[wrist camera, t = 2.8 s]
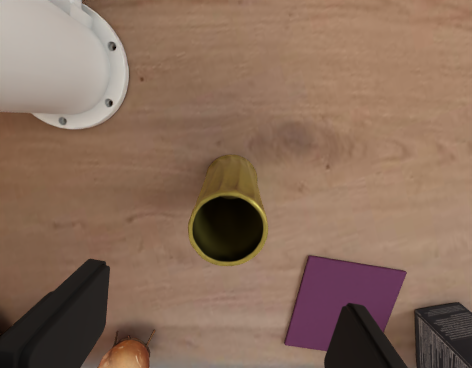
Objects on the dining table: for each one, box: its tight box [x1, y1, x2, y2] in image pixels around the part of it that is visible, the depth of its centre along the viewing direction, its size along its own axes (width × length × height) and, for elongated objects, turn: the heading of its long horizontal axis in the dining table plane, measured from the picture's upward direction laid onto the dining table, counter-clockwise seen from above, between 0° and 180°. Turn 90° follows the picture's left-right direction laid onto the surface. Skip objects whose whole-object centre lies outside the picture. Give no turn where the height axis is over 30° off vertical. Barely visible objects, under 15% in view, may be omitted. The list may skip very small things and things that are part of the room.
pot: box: [98, 330, 155, 368], centre depth 32 cm, size 6×8×6 cm
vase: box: [188, 155, 268, 266], centre depth 23 cm, size 6×6×14 cm
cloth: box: [285, 255, 407, 351], centre depth 34 cm, size 14×13×1 cm
